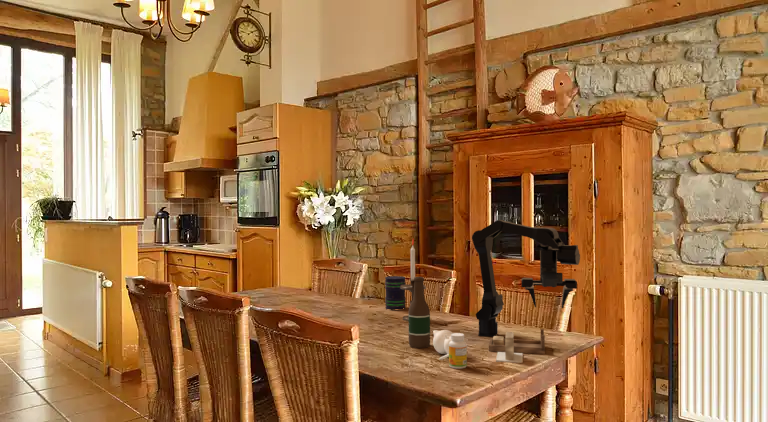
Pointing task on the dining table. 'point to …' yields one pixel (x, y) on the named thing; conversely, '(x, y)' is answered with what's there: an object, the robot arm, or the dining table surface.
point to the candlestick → (411, 286)
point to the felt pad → (517, 359)
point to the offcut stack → (498, 340)
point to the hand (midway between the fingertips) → (548, 307)
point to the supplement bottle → (457, 351)
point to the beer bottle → (419, 317)
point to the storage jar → (395, 292)
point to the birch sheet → (509, 346)
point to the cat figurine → (442, 342)
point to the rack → (522, 345)
